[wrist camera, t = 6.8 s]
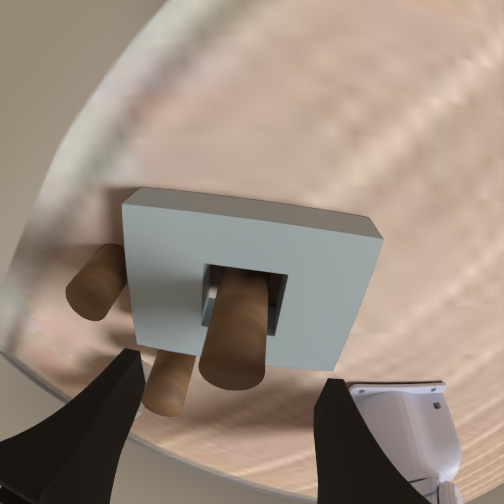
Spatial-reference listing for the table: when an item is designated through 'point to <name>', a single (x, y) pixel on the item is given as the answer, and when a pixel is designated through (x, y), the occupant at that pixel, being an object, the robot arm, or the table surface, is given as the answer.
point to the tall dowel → (237, 331)
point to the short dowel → (98, 283)
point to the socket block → (246, 257)
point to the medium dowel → (168, 383)
